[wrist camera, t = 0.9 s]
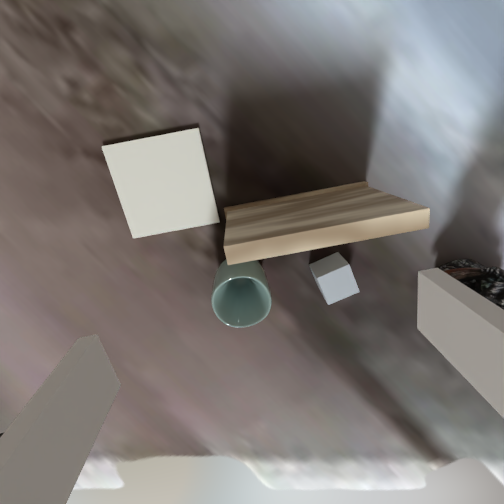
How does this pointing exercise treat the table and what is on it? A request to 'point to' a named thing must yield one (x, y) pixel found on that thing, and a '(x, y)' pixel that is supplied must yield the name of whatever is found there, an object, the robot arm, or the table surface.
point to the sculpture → (478, 279)
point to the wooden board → (317, 221)
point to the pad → (163, 182)
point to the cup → (241, 294)
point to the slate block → (334, 278)
